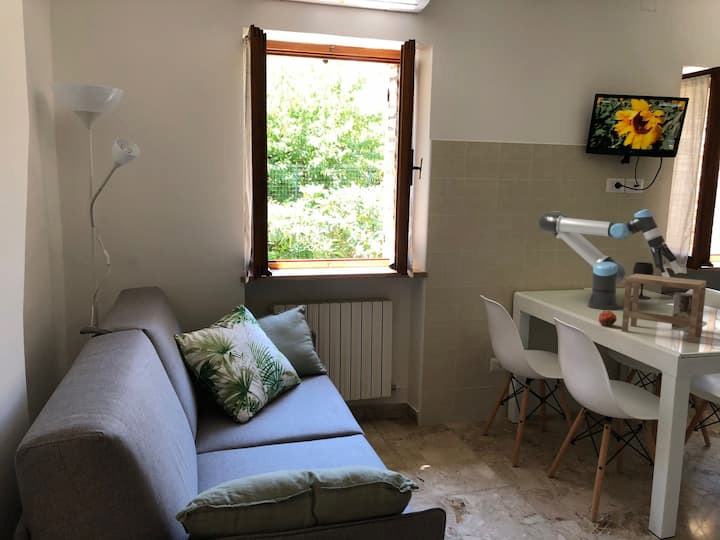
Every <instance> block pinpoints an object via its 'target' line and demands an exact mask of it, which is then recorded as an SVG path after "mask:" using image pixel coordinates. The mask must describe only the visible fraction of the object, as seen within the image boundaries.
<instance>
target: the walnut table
mask: <svg viewBox="0 0 720 540" xmlns="http://www.w3.org/2000/svg"><path fill="white" fill-rule="evenodd" d="M707 282H708V281H707V280H703V279H694V278H693V279H692V278H682V277H673V276H670V277H664V276H663V275H654V274H653V275H644V274H634V275H633V274H631V275H629V276H627V277H626V276H625V286H624V298H623V311H622V312H623V313H622V322H621V323H622V324H621V332H625V333H627V332H629V325H630V327H637V325H638V324H637V322H638V320H643V321H650V322H655V323H656V322H657V323H664V324H671V325H672V324H676V325H682V326H689V327H690V328H689V331H688V340H687V342H688V343H691V344H695V342H696V337H698V338H701V337H702V333H703V331H702V330H703V322H704V310H705V301H706V292H707V291H706V290H707ZM632 284H633V288H632ZM641 284H644V285H650V286H659V287H668V288H675V289H676V288H677V289H685V290H692V294H693V297H692V307H691V318H690V319H689V318H682V317H675V316H673V315H668V314H660V313H652V312H646V311H639V309H638V308H639V300H640V299H639V295H640V290H641ZM632 290H633V292H632ZM631 293H632V294H631ZM631 296H633V298H632V297H631ZM631 298H632V304H631ZM630 309H631V310H630ZM629 319H630V320H629ZM629 321H630V324H629Z"/></svg>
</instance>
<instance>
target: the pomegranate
mask: <svg viewBox="0 0 720 540" xmlns="http://www.w3.org/2000/svg"><path fill="white" fill-rule="evenodd" d="M616 322H617V316H616V315H615V313H614V312H613V311H612V310H611V311H610V310H605V309H603V311H602V312H601V313H600V314H599V317H598V323H599V324H600V325H601V326H605V327H606V326H608V327H609V328H611V326H613V325H614V324H615V323H616Z"/></svg>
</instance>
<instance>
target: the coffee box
mask: <svg viewBox="0 0 720 540" xmlns="http://www.w3.org/2000/svg"><path fill="white" fill-rule="evenodd" d="M692 297H693V293H690V292H689V293H687V292H675V293H674V294H673V303H672V304H673V305H672V306H673V307H672V308H673V309H672V316H675V317H682V318H689V319H690V318H691V307H692ZM689 328H690V327H689V326H682V325H676V324H671V329H670V330H675V331H683V332H689Z"/></svg>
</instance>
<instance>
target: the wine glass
mask: <svg viewBox="0 0 720 540" xmlns="http://www.w3.org/2000/svg"><path fill="white" fill-rule="evenodd" d="M634 274H644V275H654V264H653V263H651V262H643V261H642V262H641V261H638V262H635V263H634V266H633V269H632V275H634ZM644 285H645V284H640V291H639V300H651V299H652V297H650V296H647V295H644V294H643V291H644V289H643V288H644ZM632 297H633V295H631V298H632ZM650 298H651V299H650Z"/></svg>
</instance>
